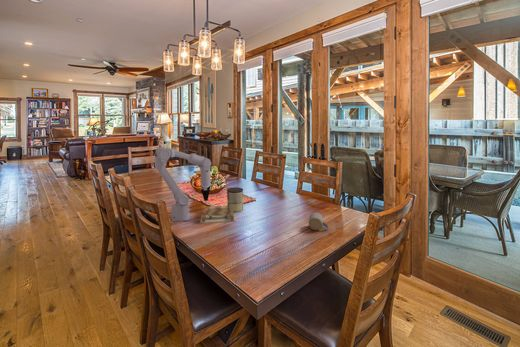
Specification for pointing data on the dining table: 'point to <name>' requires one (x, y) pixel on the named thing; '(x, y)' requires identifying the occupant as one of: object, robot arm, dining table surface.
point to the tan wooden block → (217, 210)
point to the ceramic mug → (317, 222)
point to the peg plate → (217, 218)
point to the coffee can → (235, 199)
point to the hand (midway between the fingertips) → (206, 199)
